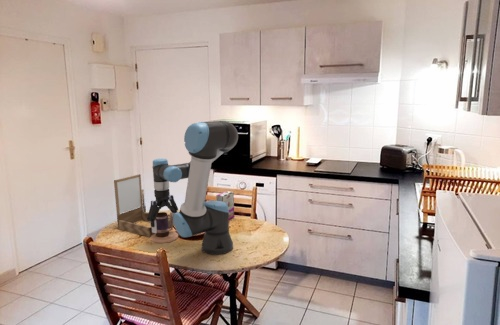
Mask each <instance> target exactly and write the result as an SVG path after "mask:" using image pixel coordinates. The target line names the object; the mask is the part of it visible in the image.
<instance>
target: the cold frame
mask: <svg viewBox="0 0 500 325" xmlns="http://www.w3.org/2000/svg"><path fill="white" fill-rule="evenodd" d="M141 189H142V188H141ZM142 203H143V207H138V208H135V209H132V210H129V211H126V212H123V213H120V215H117V214H116V220H117V229H119V230H122V231H126V232H130V233H133V234H137V235H139V236H140V235H141V236H143V237H144V236H145V237H148V238H151V236H152V235H153V234H155V233H153V232H152V227H151V226H146V225H142V224H137V223H139V222H141V221H145V222H150V223H151V221H149V220H147V217H148V213H149V212H148V211H147V212H146V207H145V193H144V189H142ZM155 220H156V219H155ZM170 220H171V219H170V217H169V216H168V226H169V229H171V225H170Z"/></svg>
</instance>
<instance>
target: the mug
mask: <svg viewBox="0 0 500 325" xmlns="http://www.w3.org/2000/svg"><path fill="white" fill-rule="evenodd" d="M168 217H170V219H171V220H170V225H171V228H170V229H169V226H168ZM156 225H157V233H156V236H157V237H166V236H168V235H169V231H173V228H174V227H173V217H172V215H171V214H170V213H169V214H168V213H167V212H163V211H162V212H161V211H159V212H158V215H157V217H156Z"/></svg>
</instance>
